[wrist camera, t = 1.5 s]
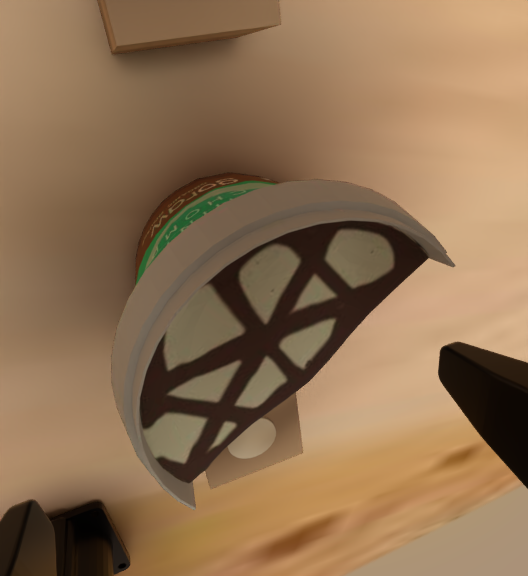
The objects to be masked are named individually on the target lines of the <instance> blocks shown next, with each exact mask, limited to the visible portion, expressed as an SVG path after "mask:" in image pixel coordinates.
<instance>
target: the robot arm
mask: <svg viewBox="0 0 528 576" xmlns="http://www.w3.org/2000/svg"><path fill="white" fill-rule="evenodd" d="M438 375H439V379H440V381H441V383H442V384H443V386H444V387H445V388H446V390H447V391H448V393H449V394H450V395H451V397H452V398H453V399H454V401H455V402H456V403H457V405H458V406H459V407H460V409H461V410H462V412H463V413H464V414H465V416H466V417H467V418H468V420H469V421H470V422H471V424H472V425H473V427H474V428H475V429H476V430H477V432H478V433H479V434H480V436H481V437H482V438H483V439H484V440H485V441H486V443H487V444H488V445H489V446H490V447H491V448H492V449H493V451H494V452H495V453H496V454H497V455H498V456H499V457H500V458H501V460H502V461H503V462H504V463H505V464H506V465H507V466H508V467H509V468H510V470H511V471H512V472H513V473H514V474H515V475H516V476H517V477H518V479H519V480H520V481H521V482H522V483H523V484H524V485H525V486H526V487H527V489H528V363H527V362H524V361H520V360H517V359H514V358H511V357H507V356H504V355H501V354H498V353H494V352H491V351H488V350H485V349H481V348H478V347H475V346H472V345H468V344H465V343H462V342H453V343H451V344H448V345H445V346H443V347H442V348H441V350H440V357H439V369H438ZM129 566H130V557H129V555H128V553H127V551H126V549H125V547H124V545H123V543H122V541H121V539H120V537H119V535H118V533H117V531H116V529H115V527H114V525H113V523H112V521H111V519H110V517H109V515H108V513H107V511H106V509H105V507H104V505H103V504H102V503H100V502H94V503H91V504H88V505H86V506H83V507H80V508H78V509H75V510H72V511H70V512H67V513H64V514H62V515H59V516H57V517H54V518H51V519H48V517H47V516H46V514H45V513H44V511H43V510H42V508H41V507H40V505H39V504H38V502H37V501H35V500H33V499H32V500H28V501H25V502H22V503H19V504H17V505H14V506H12V507H11V508H9V509H8V510H7V512H6V513H5V515H4V516H3V518H2V519H1V521H0V576H114V574H117V573H119V572H121V571H124V570H126V569H127V568H128V567H129Z"/></svg>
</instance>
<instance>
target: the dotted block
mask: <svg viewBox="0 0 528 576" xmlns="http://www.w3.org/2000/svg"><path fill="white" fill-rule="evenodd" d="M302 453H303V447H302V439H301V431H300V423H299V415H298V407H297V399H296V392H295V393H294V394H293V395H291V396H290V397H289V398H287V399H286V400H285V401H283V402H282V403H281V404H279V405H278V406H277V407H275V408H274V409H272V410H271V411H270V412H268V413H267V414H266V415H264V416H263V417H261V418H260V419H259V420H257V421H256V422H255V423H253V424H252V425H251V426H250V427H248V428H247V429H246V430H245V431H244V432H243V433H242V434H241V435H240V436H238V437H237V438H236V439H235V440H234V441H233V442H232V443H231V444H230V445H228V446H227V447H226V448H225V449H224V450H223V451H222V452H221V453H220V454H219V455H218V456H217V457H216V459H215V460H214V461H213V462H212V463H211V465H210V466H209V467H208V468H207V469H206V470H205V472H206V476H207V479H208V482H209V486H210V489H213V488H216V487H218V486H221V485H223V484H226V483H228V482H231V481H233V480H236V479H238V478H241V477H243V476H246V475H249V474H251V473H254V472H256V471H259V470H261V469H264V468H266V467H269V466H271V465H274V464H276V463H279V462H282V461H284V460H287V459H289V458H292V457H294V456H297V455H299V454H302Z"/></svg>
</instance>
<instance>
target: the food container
mask: <svg viewBox="0 0 528 576" xmlns="http://www.w3.org/2000/svg"><path fill="white" fill-rule="evenodd" d="M446 253H447V252H446V250H445V249H444V248H443V246H442V245H441V244H440V243H439V241H438V240H437V239H436V237H435V236H434V235H433V234H431V233H430V232H429V231H428V230H427V229H426V228H425V227H424V226H422V225H421V224H420V223H419V222H418V221H417V220H416V219H415V218H413V217H412V216H411V215H410V214H409V213H407V212H406V211H405V210H404V209H403V208H401V207H400V206H399V205H398V204H397V203H395V202H394V201H392V200H391V199H389V198H387V197H385V196H383V195H381V194H379V193H377V192H375V191H374V190H371V189H368V188H365V187H361V186H358V185H355V184H351V183H348V182H340V181H330V180H320V179H315V180H302V181H289V182H284V183H278V182H275V181H272V180H269V179H265V178H262V177H259V176H251V175H244V174H236V173H224V174H219V175H214V176H209V177H204V178H199V179H196V180H194V181H193V182H191V183H189V184H187V185H185V186H184V187H182V188H180V189H178V190H176V191H175V192H173V193H172V194H171V195H170V196H169V197H168V198H166V199H165V200H164V201H163V202H162V203H161V204H160V205H159V207H158V208H157V209H156V210H155V211H154V213H153V214H152V215H151V217H150V219H149V220H148V222H147V224H146V226H145V227H144V230H143V232H142V235H141V238H140V240H139V244H138V249H137V254H136V279H135V288H134V290H133V292H132V293H131V295H130V296H129V298H128V300H127V303H126V306H125V308H124V311H123V313H122V316H121V318H120V321H119V323H118V326H117V329H116V335H115V340H114V345H113V350H112V355H111V383H112V387H113V392H114V397H115V401H116V406H117V409H118V411H119V414H120V416H121V419H122V421H123V424H124V426H125V428H126V431H127V433H128V436H129V438H130V440H131V442H132V445H133V447H134V449H135V452H136V454H137V456H138V458H139V459H140V460H141V462H142V463H143V464H144V466H145V467H146V468H147V470H148V471H149V472H150V474H151V475H152V476H153V477H155V479H156V480H157V482H158V483H159V484H160V486H161V487H162V488H163V489H164V490H165V491H167V492H168V493H169V494H170V495H171V496H172V497H174V498H175V499H176V500H177V501H179V502H180V503H182V504H184V505H186V506H188V507H189V508H191V509H193V510H195V509H196V505H195V497H194V489H193V480H194V479H195V478H196V477H197V476H198V475H199V474H201V473H202V472H203V471H205V470H206V469H207V468H208V467H209V466H210V465H211V463H212V462H213V461H214V460H215V459H216V457H217V456H218V455H219V454H220V453H221V452H222V451H223V450H224V449H225V448H226V447H227V446H228V445H230V444H231V443H232V442H233V441H234V440H235V439H236V438H237V437H238V436H240V435H241V434H242V433H243V432H244V431H245V430H246V429H247V428H248V427H250V426H251V425H252V424H253V423H255V422H256V421H257V420H259V419H260V418H261V417H263V416H264V415H266V414H267V413H268V412H270V411H271V410H272V409H274V408H275V407H277V406H278V405H279V404H281V403H282V402H283V401H285V400H286V399H287V398H289V397H290V396H291V395H293V394H294V393H295V392H296V391H298V390H299V389H300V388H301V387H303V386H304V385H305V384H307V383H308V382H309V381H310V380H311V379H312V378H313V377H314V376H315V375H316V374H317V372H318V371H319V370H320V369H321V368H322V367H323V366H324V365H325V364H326V363H327V362H328V361H329V360H330V358H331V357H332V356H333V355H334V353H335V352H336V351H337V350H338V349H339V347H340V346H341V345H342V344H343V343H344V341H345V340H346V339H347V338H348V337H349V335H350V334H351V333H352V332H353V331H354V330H355V329H356V327H357V326H358V325H359V324H360V323H361V322H362V321H363V320H364V319H365V318H366V316H367V315H368V314H369V313H370V312H371V311H372V310H373V309H374V308H375V307H376V306H378V305H379V304H380V303H381V302H382V301H383V300H384V299H385V298H386V297H387V296H388V295H389V294H390V293H391V292H392V291H393V290H394V289H395V288H397V287H398V286H399V285H400V284H401V283H402V282H403V281H404V280H405V279H406V278H407V277H408V276H410V275H411V274H412V273H413V272H414V271H415V270H416V269H417V268H418V267H419V266H420V265H422V264H423V263H424V262H425V261H426V260H427V259H428V258H430V259H433V260H435V261H438V262H441V263H443V264H446V265H448V266H451V267H455V266H456V265H455V264H454V263H453V262H452V261H451V259H450V258H449V257H448V256H447V254H446Z"/></svg>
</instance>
